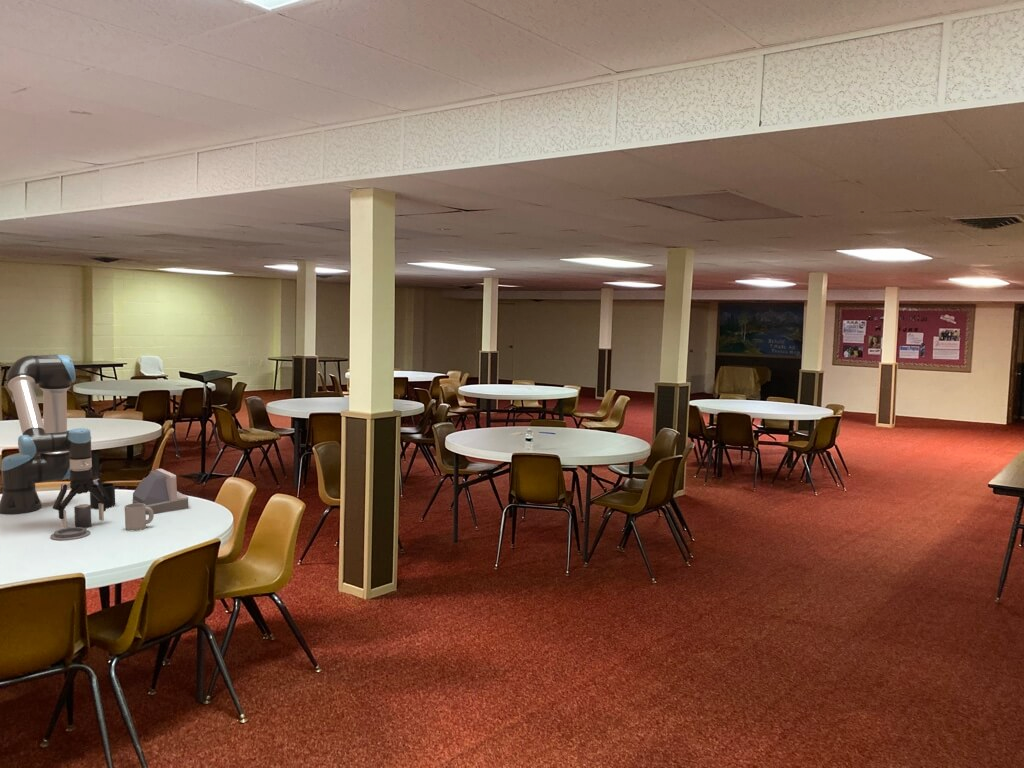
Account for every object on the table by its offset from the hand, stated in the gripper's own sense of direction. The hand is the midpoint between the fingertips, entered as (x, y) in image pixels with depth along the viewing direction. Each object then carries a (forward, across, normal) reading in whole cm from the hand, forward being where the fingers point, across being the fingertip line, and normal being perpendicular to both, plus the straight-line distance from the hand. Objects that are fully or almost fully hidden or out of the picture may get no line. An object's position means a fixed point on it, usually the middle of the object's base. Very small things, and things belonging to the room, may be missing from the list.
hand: (83, 523), depth 310 cm
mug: (+2, +18, +26) cm, 32 cm away
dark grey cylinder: (+1, 0, 0) cm, 1 cm away
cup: (+2, +14, -17) cm, 22 cm away
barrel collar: (+1, -8, -9) cm, 12 cm away
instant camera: (+2, +34, +8) cm, 35 cm away
